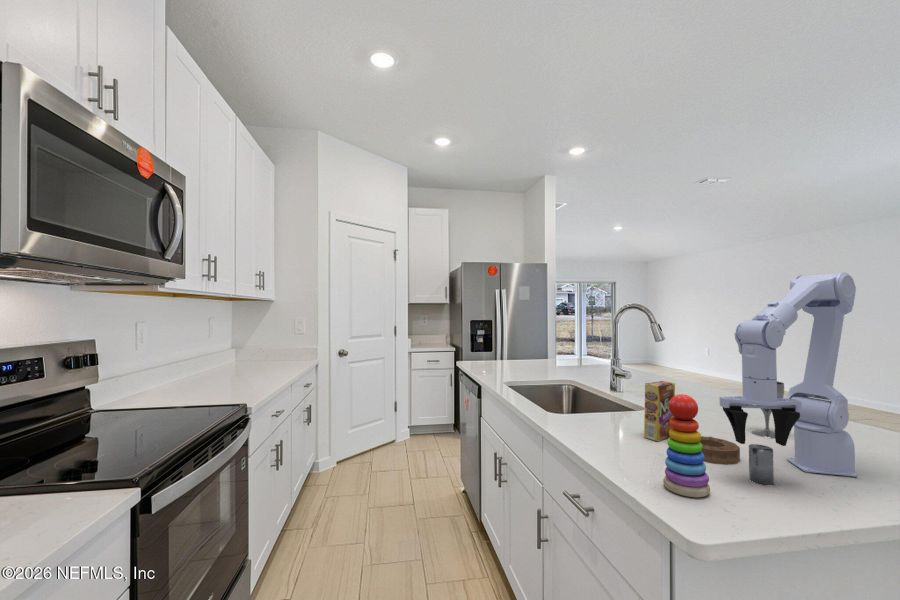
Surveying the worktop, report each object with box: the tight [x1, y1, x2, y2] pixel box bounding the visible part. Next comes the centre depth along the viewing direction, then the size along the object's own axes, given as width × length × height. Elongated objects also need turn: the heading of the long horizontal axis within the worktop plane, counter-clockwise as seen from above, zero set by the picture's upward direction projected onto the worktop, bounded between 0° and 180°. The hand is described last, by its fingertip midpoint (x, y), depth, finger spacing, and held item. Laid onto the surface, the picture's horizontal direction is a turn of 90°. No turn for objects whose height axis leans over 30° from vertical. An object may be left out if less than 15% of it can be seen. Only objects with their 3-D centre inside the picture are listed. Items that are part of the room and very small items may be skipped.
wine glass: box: [751, 381, 785, 439], centre depth 115 cm, size 8×8×15 cm
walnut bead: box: [700, 435, 741, 465], centre depth 98 cm, size 11×11×3 cm
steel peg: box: [748, 443, 775, 486], centre depth 83 cm, size 4×4×7 cm
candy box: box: [643, 380, 676, 442], centre depth 112 cm, size 9×4×15 cm, turn 123°
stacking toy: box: [662, 393, 711, 498], centre depth 79 cm, size 8×8×19 cm
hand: (760, 443), depth 83 cm, fingers open, 7 cm apart
